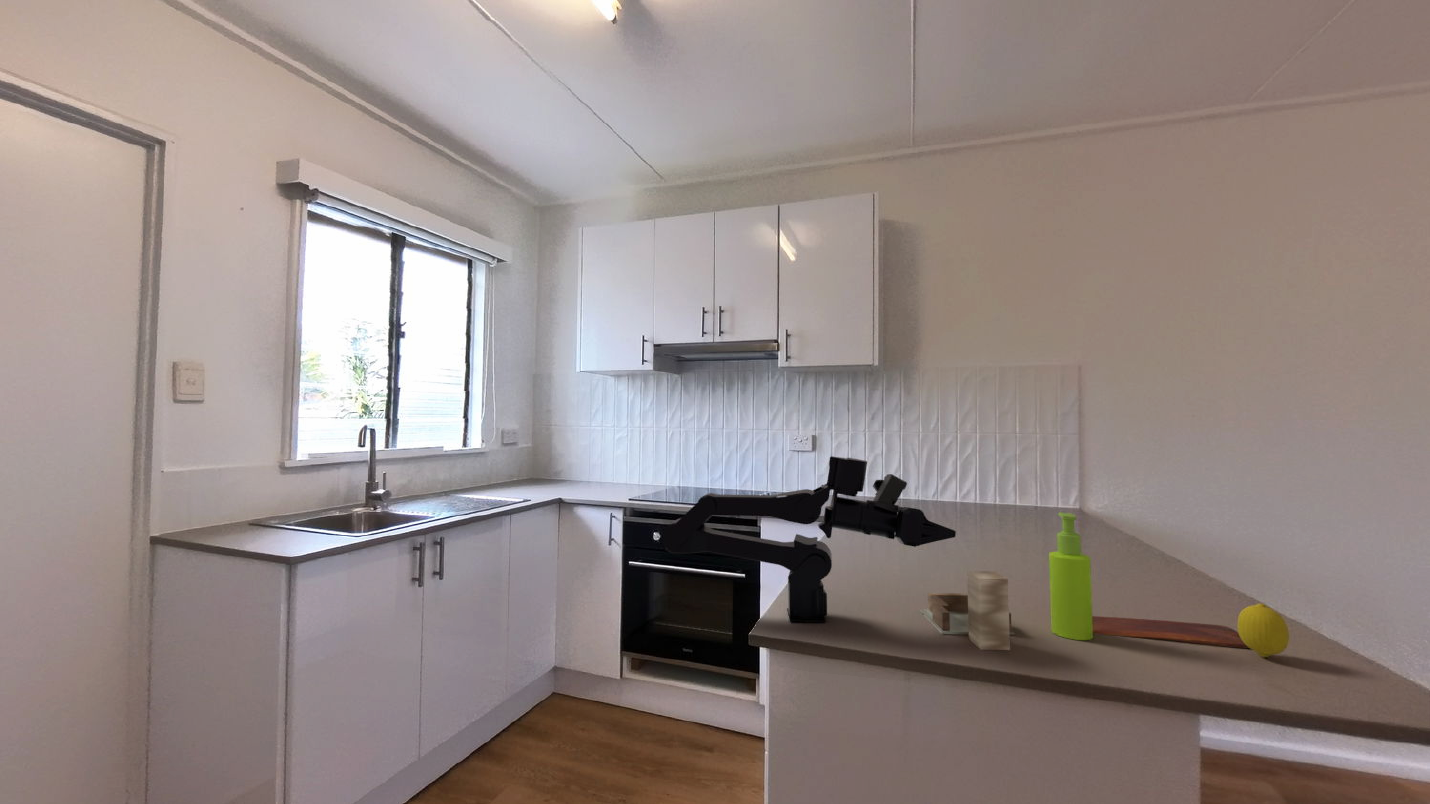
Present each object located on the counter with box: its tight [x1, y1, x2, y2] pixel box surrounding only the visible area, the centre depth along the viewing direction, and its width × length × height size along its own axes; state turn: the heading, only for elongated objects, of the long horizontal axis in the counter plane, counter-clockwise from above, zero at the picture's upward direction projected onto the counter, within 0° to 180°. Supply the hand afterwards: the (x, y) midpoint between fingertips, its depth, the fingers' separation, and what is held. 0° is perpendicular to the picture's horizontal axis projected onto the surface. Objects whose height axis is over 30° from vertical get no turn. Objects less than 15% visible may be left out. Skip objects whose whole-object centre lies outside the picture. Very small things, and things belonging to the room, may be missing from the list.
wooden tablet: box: [1092, 615, 1249, 649], centre depth 94 cm, size 27×10×2 cm, turn 71°
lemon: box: [1236, 602, 1290, 658], centre depth 83 cm, size 6×6×8 cm
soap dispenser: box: [1048, 512, 1094, 641], centre depth 93 cm, size 6×7×20 cm
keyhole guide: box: [919, 592, 1016, 636], centre depth 98 cm, size 12×12×3 cm
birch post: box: [966, 570, 1011, 651], centre depth 89 cm, size 4×4×11 cm
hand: (946, 531), depth 99 cm, fingers open, 9 cm apart
